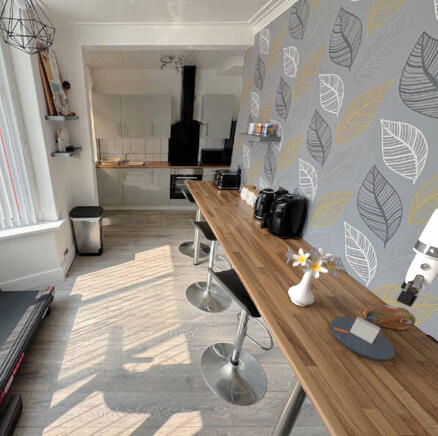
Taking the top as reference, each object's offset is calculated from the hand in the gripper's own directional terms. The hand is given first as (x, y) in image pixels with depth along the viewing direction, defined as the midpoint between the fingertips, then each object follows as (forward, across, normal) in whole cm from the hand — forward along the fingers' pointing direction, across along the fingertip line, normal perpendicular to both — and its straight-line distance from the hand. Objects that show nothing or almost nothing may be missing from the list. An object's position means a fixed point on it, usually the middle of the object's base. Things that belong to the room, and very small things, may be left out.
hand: (405, 296), depth 74 cm
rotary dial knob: (+19, -5, +4) cm, 20 cm away
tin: (+21, +13, 0) cm, 25 cm away
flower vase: (+21, -1, +26) cm, 33 cm away
